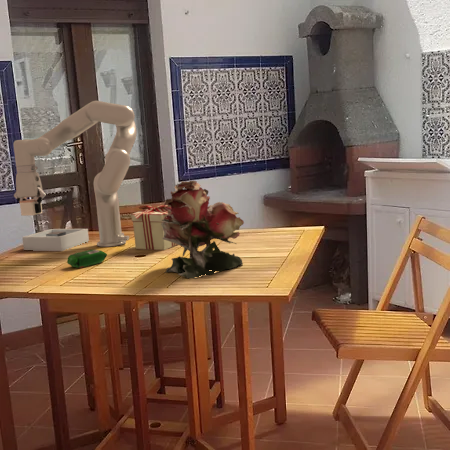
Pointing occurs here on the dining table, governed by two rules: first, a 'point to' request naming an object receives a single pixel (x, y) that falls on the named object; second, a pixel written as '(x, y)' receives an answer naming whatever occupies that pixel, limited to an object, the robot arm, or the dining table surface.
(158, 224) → the gift box
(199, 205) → the rose bouquet
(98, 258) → the snack package
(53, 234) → the block
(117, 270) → the dining table surface
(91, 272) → the dining table surface
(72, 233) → the tote
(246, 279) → the dining table surface
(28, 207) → the orange and beige cube
